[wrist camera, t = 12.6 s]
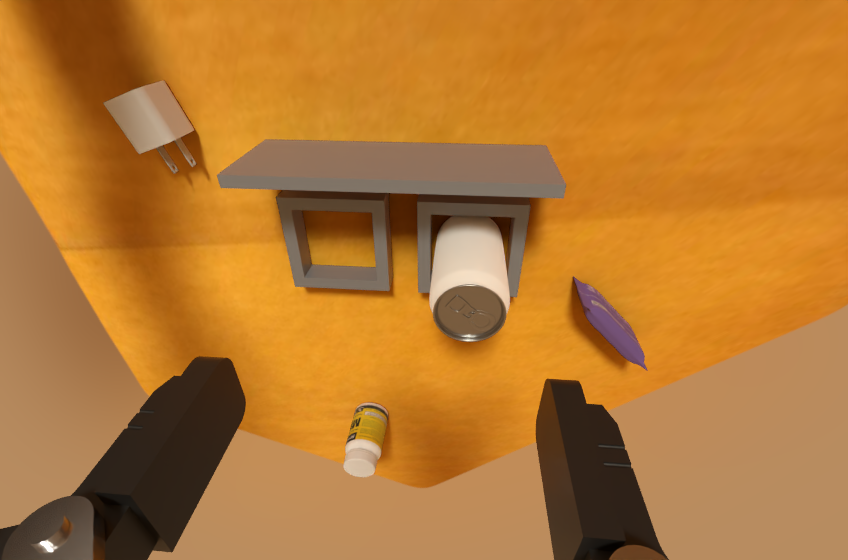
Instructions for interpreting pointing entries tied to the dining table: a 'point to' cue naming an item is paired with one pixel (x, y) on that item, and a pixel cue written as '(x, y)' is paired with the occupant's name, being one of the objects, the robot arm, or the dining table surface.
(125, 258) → the dining table surface
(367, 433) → the supplement bottle
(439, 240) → the can
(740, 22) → the dining table surface
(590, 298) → the snack package
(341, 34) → the dining table surface
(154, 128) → the usb wall charger
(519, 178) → the dock
